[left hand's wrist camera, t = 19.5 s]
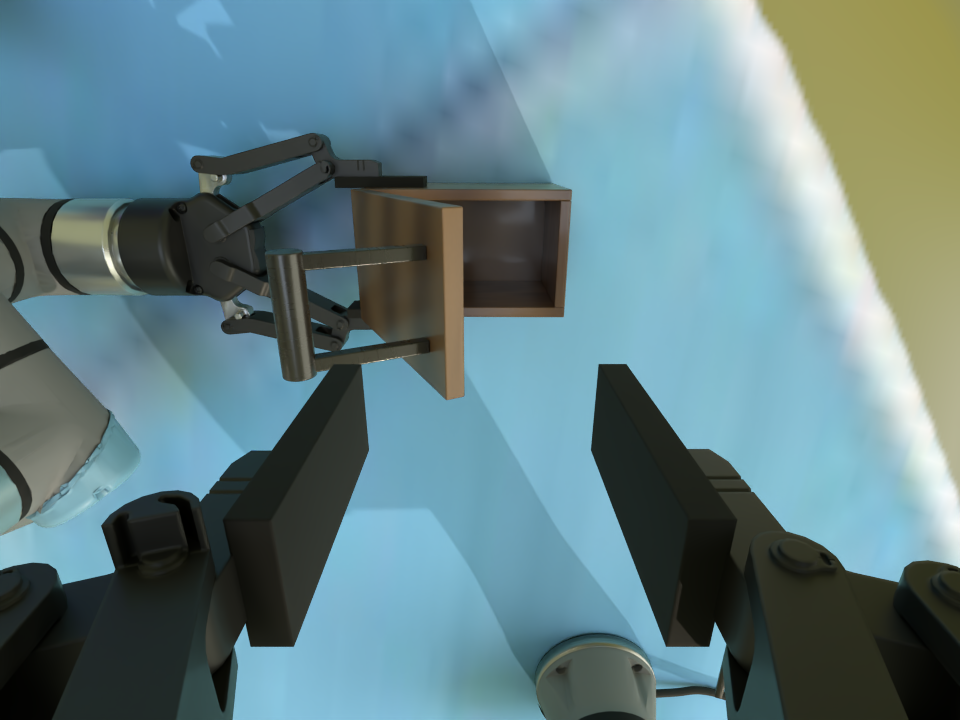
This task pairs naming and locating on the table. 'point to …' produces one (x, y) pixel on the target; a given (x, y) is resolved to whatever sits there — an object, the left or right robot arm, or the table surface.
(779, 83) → the table surface
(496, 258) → the chest
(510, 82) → the table surface
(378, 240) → the lid
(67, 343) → the table surface
